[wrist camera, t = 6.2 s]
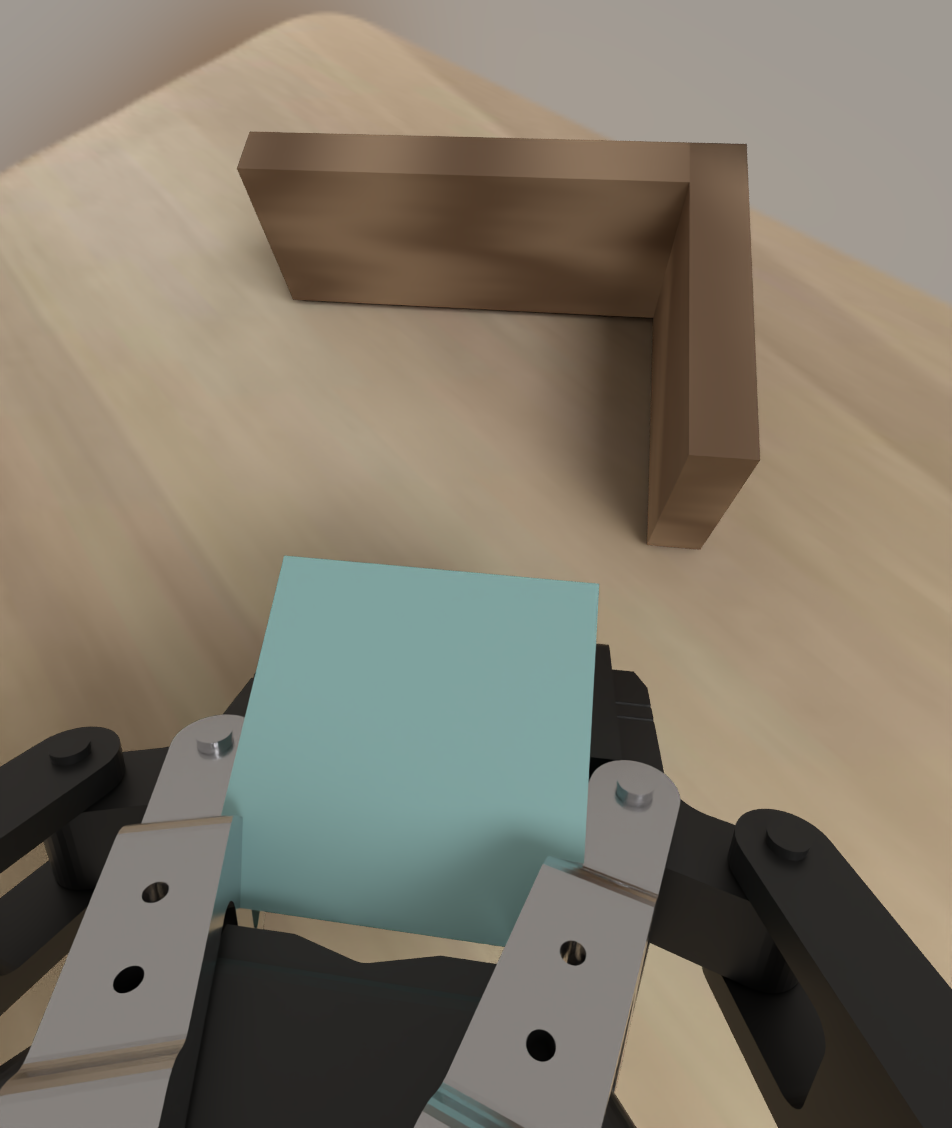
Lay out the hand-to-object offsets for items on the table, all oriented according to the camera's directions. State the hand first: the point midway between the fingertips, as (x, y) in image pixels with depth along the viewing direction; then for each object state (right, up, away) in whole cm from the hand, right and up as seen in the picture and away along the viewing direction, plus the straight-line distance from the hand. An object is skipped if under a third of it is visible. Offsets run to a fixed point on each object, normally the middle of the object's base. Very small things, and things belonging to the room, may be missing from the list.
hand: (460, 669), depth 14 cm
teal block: (0, -3, +3) cm, 5 cm away
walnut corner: (0, +8, +8) cm, 11 cm away
